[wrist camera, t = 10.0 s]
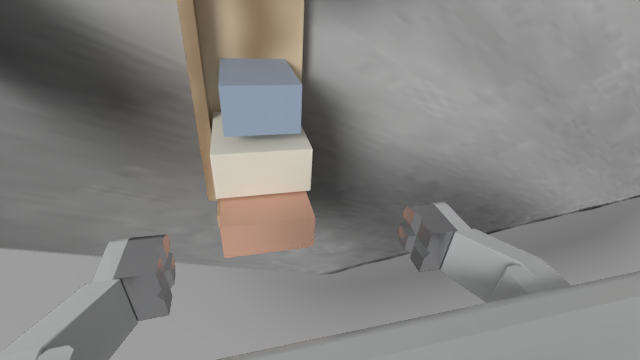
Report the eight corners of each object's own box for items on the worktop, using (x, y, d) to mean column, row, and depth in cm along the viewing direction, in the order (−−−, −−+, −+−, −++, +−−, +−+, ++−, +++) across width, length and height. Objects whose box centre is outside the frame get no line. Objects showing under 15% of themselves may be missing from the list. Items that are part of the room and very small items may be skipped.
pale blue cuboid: (224, 99, 27) (223, 137, 21) (220, 58, 25) (218, 85, 19) (284, 98, 28) (300, 133, 22) (284, 58, 27) (302, 84, 20)
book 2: (224, 175, 31) (224, 258, 22) (221, 150, 30) (219, 227, 21) (289, 171, 33) (313, 246, 24) (289, 146, 31) (315, 217, 22)
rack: (209, 183, 32) (206, 228, 27) (157, -168, 19) (127, -228, 13) (296, 176, 34) (310, 217, 29) (305, -144, 21) (334, -186, 15)
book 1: (218, 148, 29) (215, 198, 23) (213, 111, 27) (209, 155, 21) (292, 144, 31) (310, 190, 25) (293, 109, 29) (312, 149, 23)
